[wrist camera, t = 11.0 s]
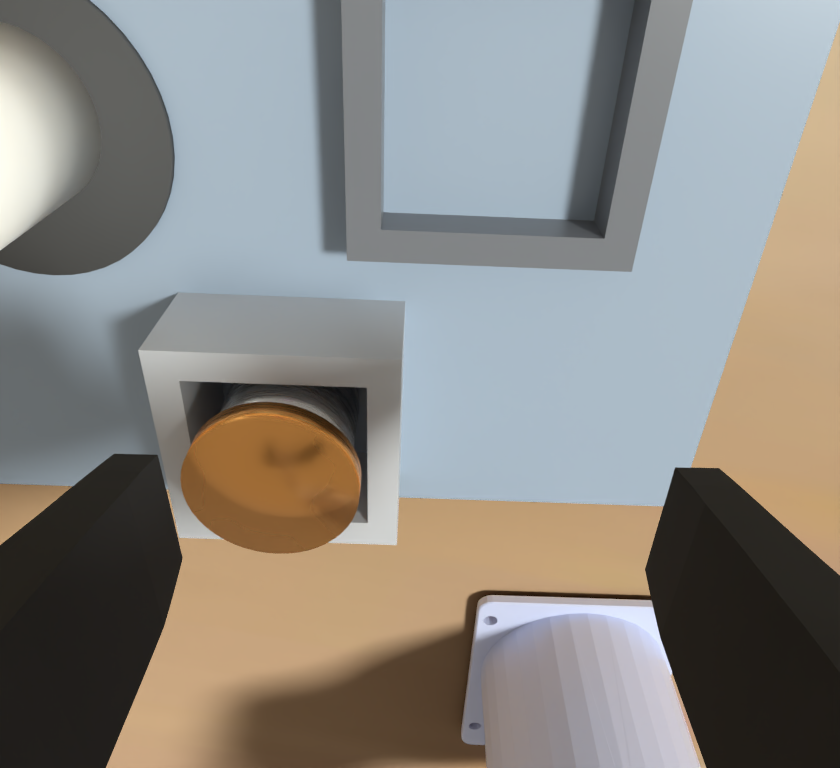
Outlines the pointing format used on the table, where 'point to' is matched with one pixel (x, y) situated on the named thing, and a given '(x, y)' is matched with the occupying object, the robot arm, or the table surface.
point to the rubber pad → (120, 144)
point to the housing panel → (431, 241)
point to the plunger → (276, 467)
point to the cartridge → (41, 132)
